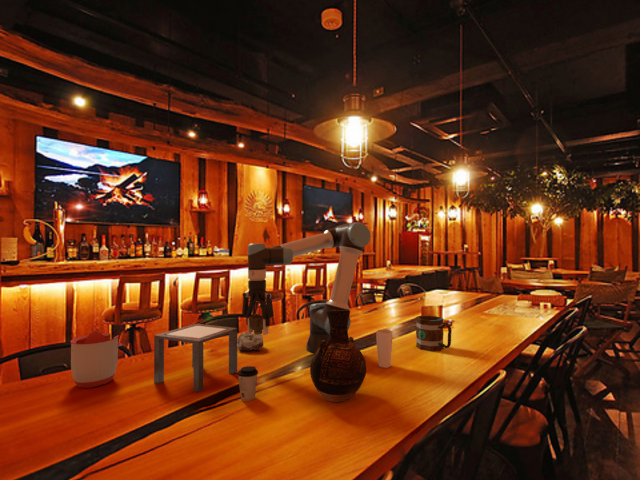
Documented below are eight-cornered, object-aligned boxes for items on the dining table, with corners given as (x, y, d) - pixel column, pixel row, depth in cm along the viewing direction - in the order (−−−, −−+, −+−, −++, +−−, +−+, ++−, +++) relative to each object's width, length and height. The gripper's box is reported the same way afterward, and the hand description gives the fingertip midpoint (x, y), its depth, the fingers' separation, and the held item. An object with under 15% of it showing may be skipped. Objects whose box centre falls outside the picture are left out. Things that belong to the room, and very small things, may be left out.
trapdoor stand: (237, 371, 144) (237, 328, 144) (198, 392, 124) (198, 341, 124) (196, 364, 153) (196, 323, 153) (154, 382, 133) (154, 335, 133)
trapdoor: (197, 341, 127) (197, 338, 127) (165, 337, 134) (165, 334, 134) (226, 331, 142) (226, 328, 143) (196, 328, 149) (196, 325, 149)
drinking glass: (394, 364, 152) (393, 330, 152) (390, 369, 145) (390, 333, 146) (378, 362, 154) (378, 328, 155) (374, 367, 148) (374, 332, 149)
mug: (410, 346, 180) (410, 317, 180) (428, 342, 187) (428, 314, 187) (441, 356, 163) (441, 324, 163) (460, 351, 170) (459, 321, 170)
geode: (249, 364, 168) (270, 351, 180) (252, 348, 165) (273, 336, 177) (225, 347, 176) (247, 336, 188) (228, 331, 173) (250, 321, 185)
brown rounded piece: (270, 332, 151) (269, 313, 151) (261, 336, 144) (261, 317, 144) (254, 331, 153) (254, 313, 153) (246, 335, 146) (245, 316, 146)
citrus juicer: (131, 378, 137) (131, 327, 138) (83, 394, 122) (83, 337, 123) (109, 371, 145) (109, 323, 146) (61, 385, 130) (62, 331, 131)
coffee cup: (240, 404, 114) (240, 373, 114) (235, 396, 120) (235, 367, 120) (260, 400, 117) (260, 370, 117) (254, 392, 123) (254, 364, 123)
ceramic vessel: (333, 416, 105) (333, 317, 106) (298, 398, 119) (298, 309, 119) (378, 396, 119) (377, 309, 120) (342, 382, 132) (341, 303, 133)
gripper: (232, 279, 149) (233, 333, 149) (272, 281, 141) (273, 337, 141) (243, 278, 156) (244, 329, 156) (281, 279, 148) (282, 333, 148)
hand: (258, 333), depth 148 cm, fingers closed on brown rounded piece, 7 cm apart
